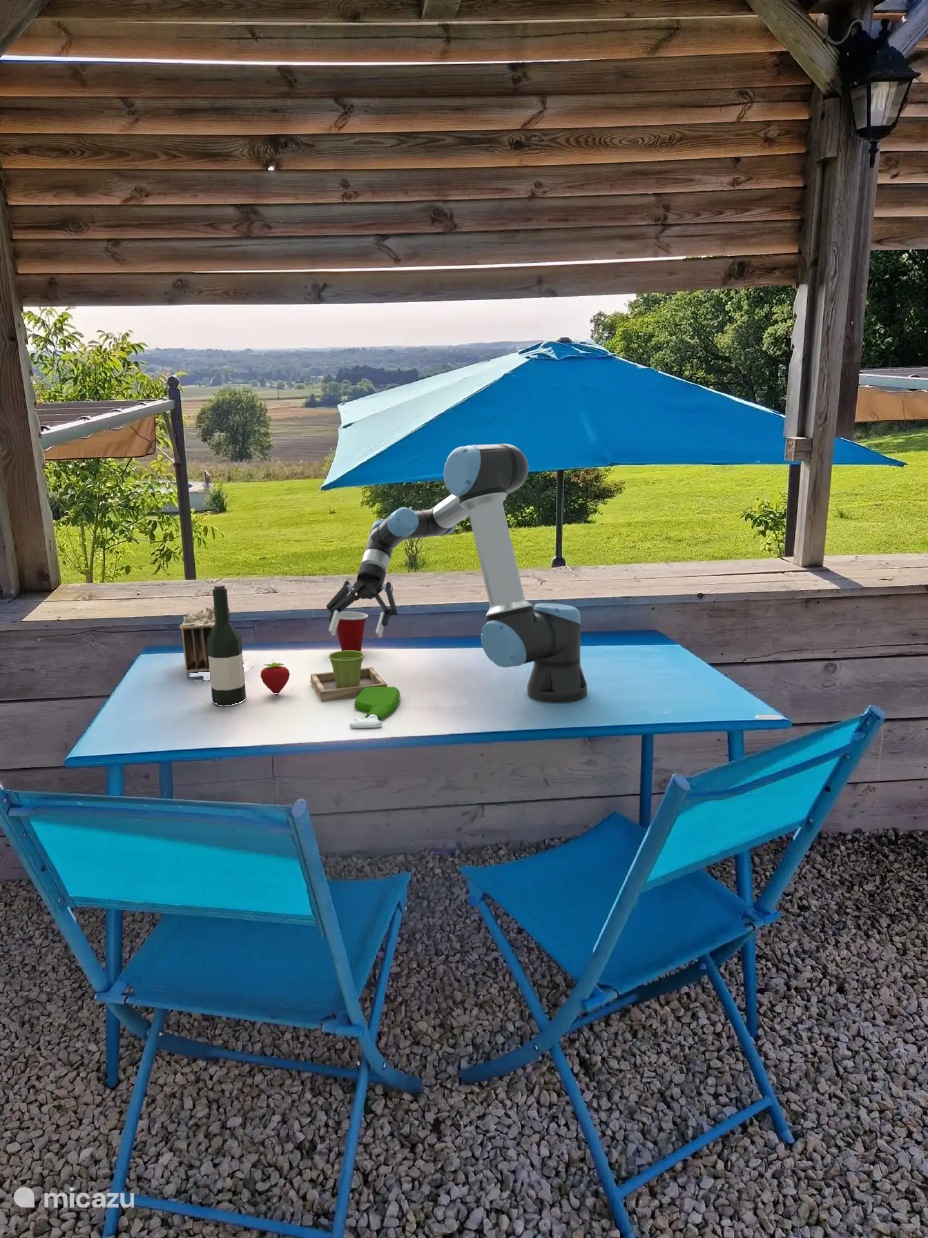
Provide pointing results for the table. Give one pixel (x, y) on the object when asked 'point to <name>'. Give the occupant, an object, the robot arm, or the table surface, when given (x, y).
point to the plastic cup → (351, 630)
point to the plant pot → (347, 667)
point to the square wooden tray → (329, 691)
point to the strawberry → (275, 676)
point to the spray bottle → (375, 705)
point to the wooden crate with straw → (197, 640)
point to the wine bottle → (225, 654)
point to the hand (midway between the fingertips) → (354, 634)
